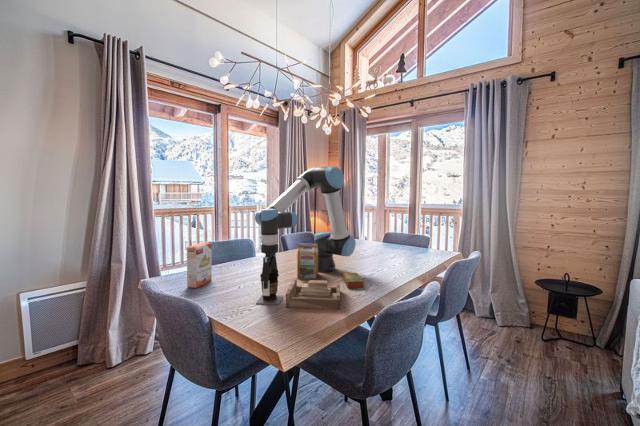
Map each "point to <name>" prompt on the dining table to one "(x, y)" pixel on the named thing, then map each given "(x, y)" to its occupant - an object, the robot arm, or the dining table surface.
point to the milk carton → (307, 261)
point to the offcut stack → (316, 288)
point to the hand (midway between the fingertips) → (269, 290)
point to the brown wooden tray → (311, 302)
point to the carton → (352, 280)
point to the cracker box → (199, 265)
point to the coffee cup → (271, 285)
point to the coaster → (274, 302)
